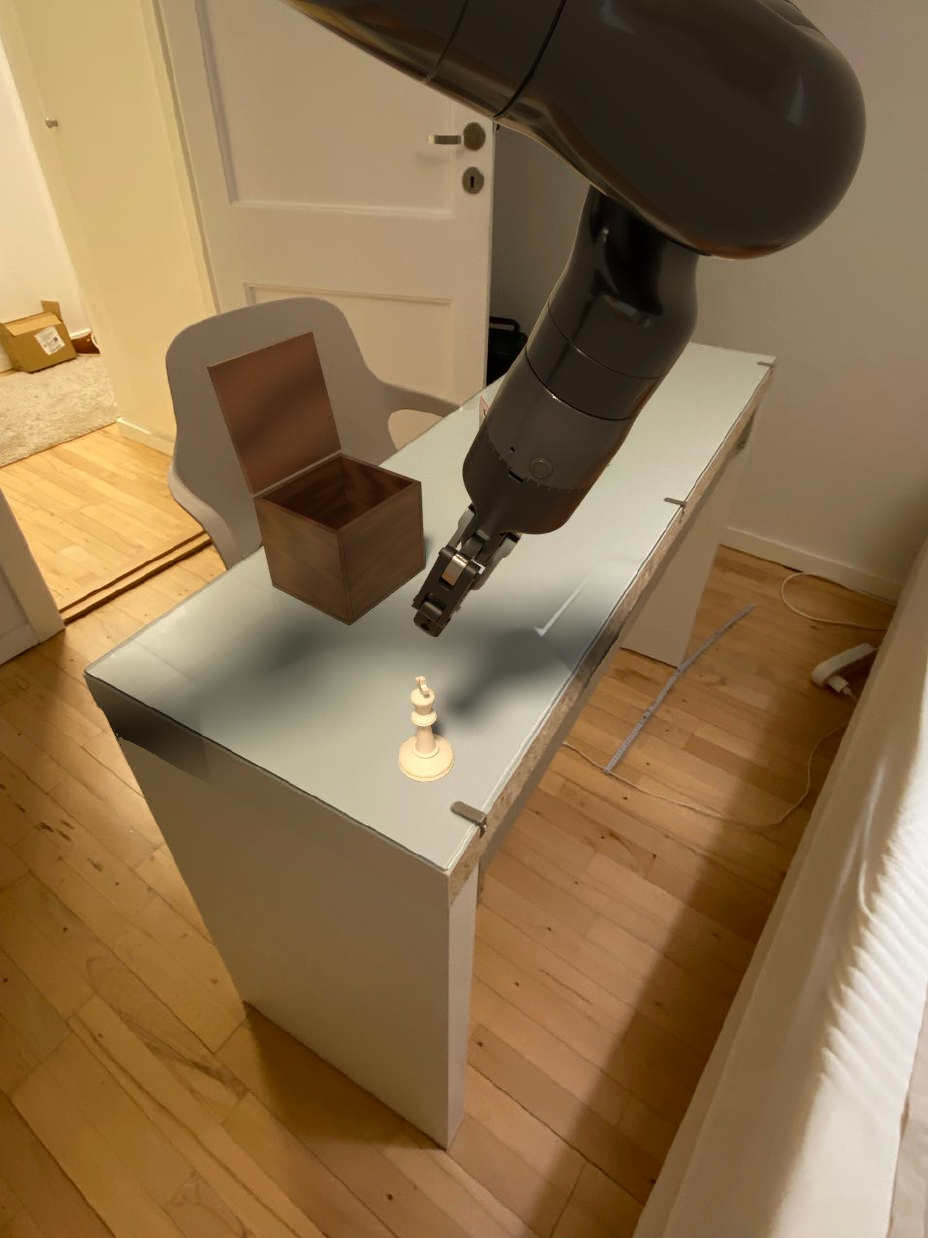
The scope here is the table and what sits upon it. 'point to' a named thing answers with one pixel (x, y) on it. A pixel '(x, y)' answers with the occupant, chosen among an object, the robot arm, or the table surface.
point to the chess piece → (425, 741)
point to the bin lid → (276, 409)
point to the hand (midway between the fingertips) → (454, 592)
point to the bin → (342, 535)
